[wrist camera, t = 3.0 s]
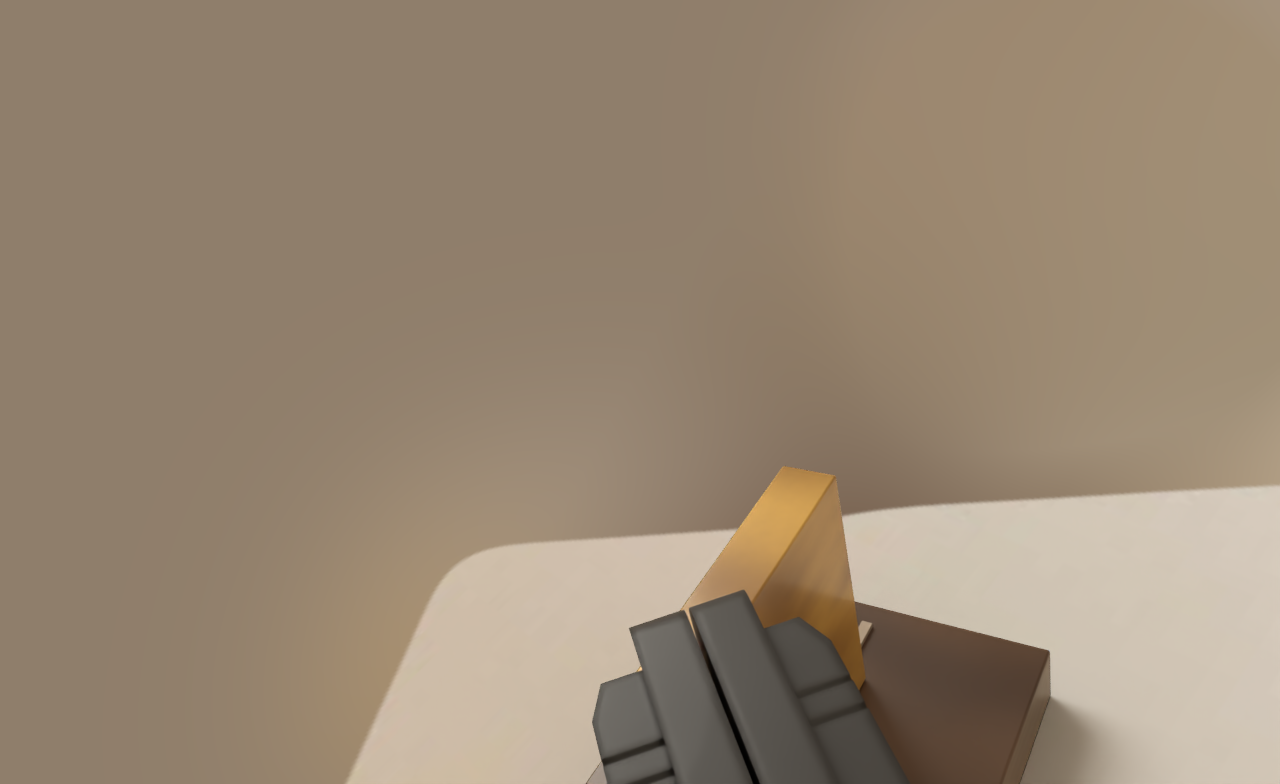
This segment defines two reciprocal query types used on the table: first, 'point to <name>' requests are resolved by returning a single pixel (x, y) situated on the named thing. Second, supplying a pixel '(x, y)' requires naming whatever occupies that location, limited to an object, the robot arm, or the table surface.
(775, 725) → the robot arm
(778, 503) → the wooden block
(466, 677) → the table surface
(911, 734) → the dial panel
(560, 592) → the table surface
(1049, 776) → the table surface
